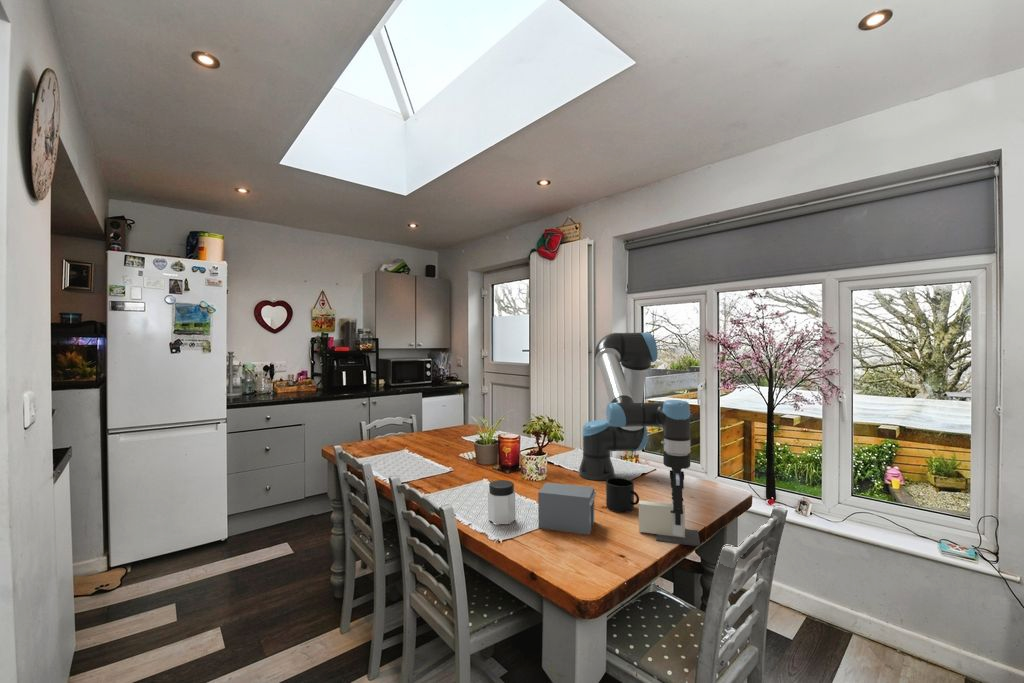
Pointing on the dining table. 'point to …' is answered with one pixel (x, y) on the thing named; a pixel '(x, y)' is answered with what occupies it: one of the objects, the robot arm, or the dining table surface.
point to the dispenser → (566, 508)
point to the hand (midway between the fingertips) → (677, 528)
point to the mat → (689, 539)
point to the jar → (501, 502)
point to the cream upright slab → (657, 518)
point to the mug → (620, 495)
